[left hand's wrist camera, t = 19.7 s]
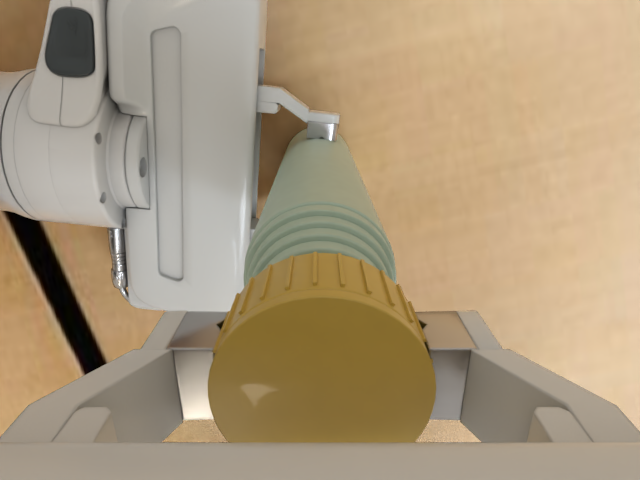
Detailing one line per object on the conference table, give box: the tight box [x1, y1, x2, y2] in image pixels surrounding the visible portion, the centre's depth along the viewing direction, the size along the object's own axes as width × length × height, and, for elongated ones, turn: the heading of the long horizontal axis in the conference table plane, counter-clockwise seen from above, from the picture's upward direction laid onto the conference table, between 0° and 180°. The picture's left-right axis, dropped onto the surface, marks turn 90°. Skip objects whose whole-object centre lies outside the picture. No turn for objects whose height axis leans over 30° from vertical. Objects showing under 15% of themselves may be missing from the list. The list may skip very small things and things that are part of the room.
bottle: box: [244, 129, 396, 287], centre depth 20 cm, size 5×5×24 cm
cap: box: [208, 252, 436, 442], centre depth 9 cm, size 4×4×2 cm
